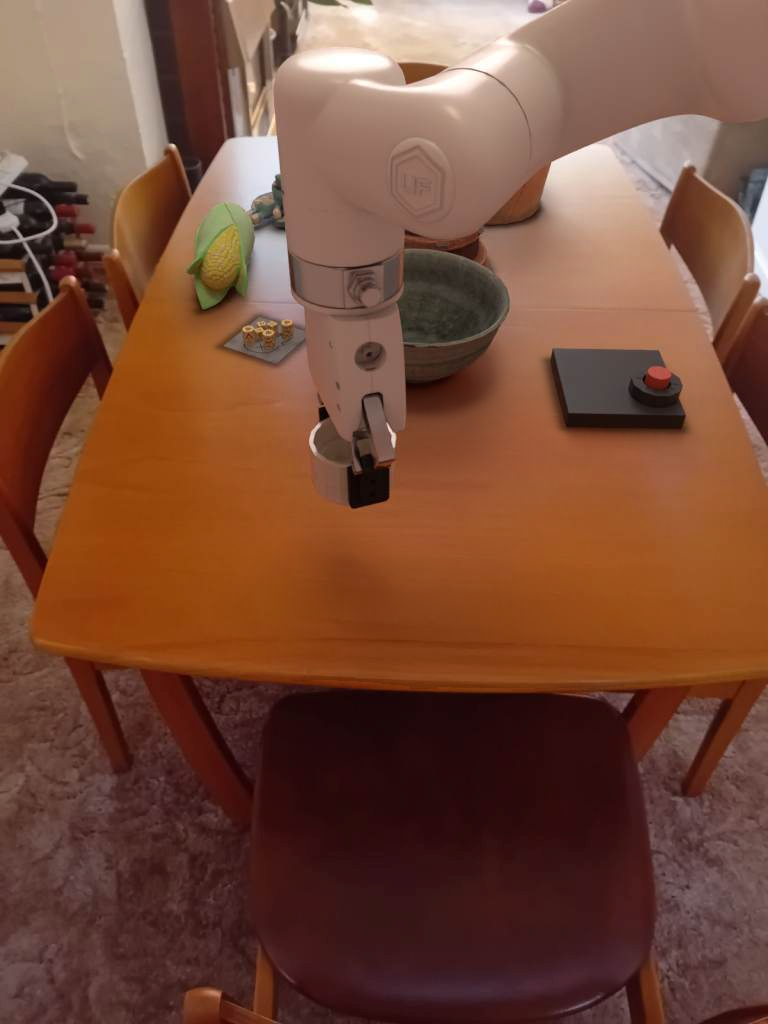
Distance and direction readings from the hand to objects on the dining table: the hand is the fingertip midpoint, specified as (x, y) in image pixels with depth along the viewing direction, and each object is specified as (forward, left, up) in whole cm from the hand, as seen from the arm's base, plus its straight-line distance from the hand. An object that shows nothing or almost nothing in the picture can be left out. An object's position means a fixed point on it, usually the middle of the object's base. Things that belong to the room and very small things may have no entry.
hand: (353, 470), depth 64 cm
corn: (0, -59, -13) cm, 61 cm away
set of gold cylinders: (-1, -41, -13) cm, 43 cm away
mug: (-25, -53, -13) cm, 60 cm away
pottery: (-45, -70, -13) cm, 84 cm away
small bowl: (0, 0, -1) cm, 1 cm away
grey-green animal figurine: (-11, -75, -13) cm, 77 cm away
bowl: (-17, -30, -13) cm, 37 cm away
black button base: (-37, -17, -13) cm, 43 cm away
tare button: (-40, -13, -9) cm, 43 cm away
